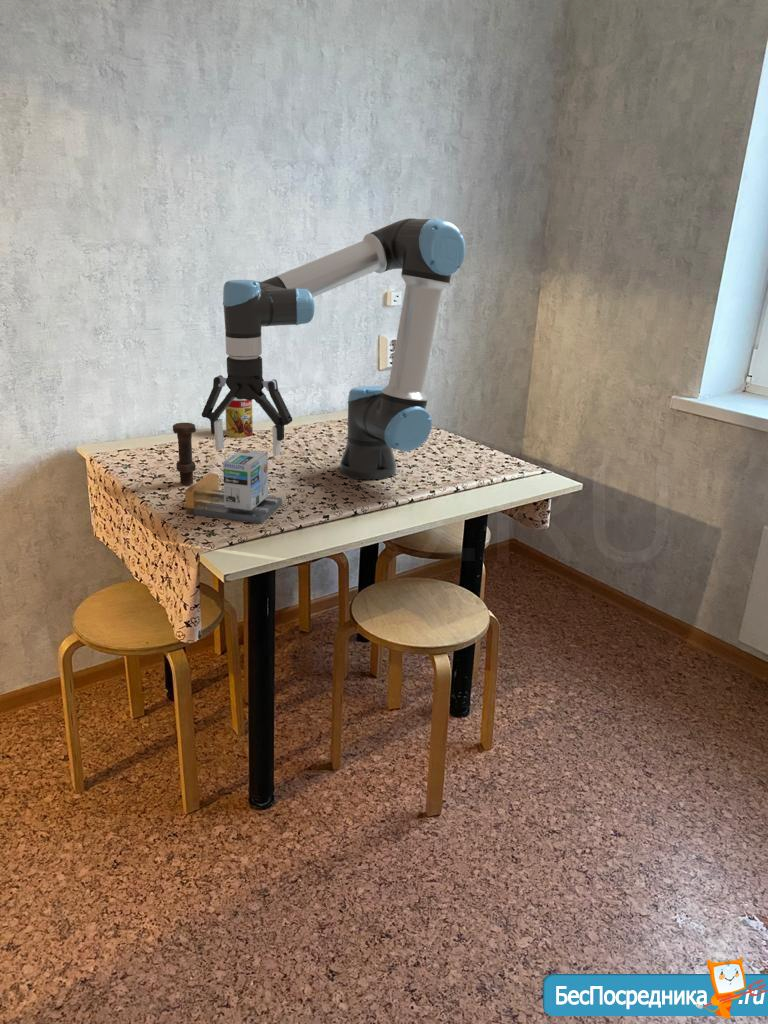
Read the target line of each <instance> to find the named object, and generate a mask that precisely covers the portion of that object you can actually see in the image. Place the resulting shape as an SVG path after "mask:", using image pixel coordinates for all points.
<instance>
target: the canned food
mask: <svg viewBox="0 0 768 1024" xmlns="http://www.w3.org/2000/svg"><path fill="white" fill-rule="evenodd" d="M224 411H225V434H226V436H227V437H229V438H234V439H235V438H236V439H240V438H241V439H243V438H244V439H245V438H249V437H251V436H253V433H254V432H253V430H254V429H253V400H246V399H237V398H236V397H235V398H234V399H233V400H232V402H231V403H230V404H229V405H228V407H227V408H226V409H225V410H224Z"/></svg>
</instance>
